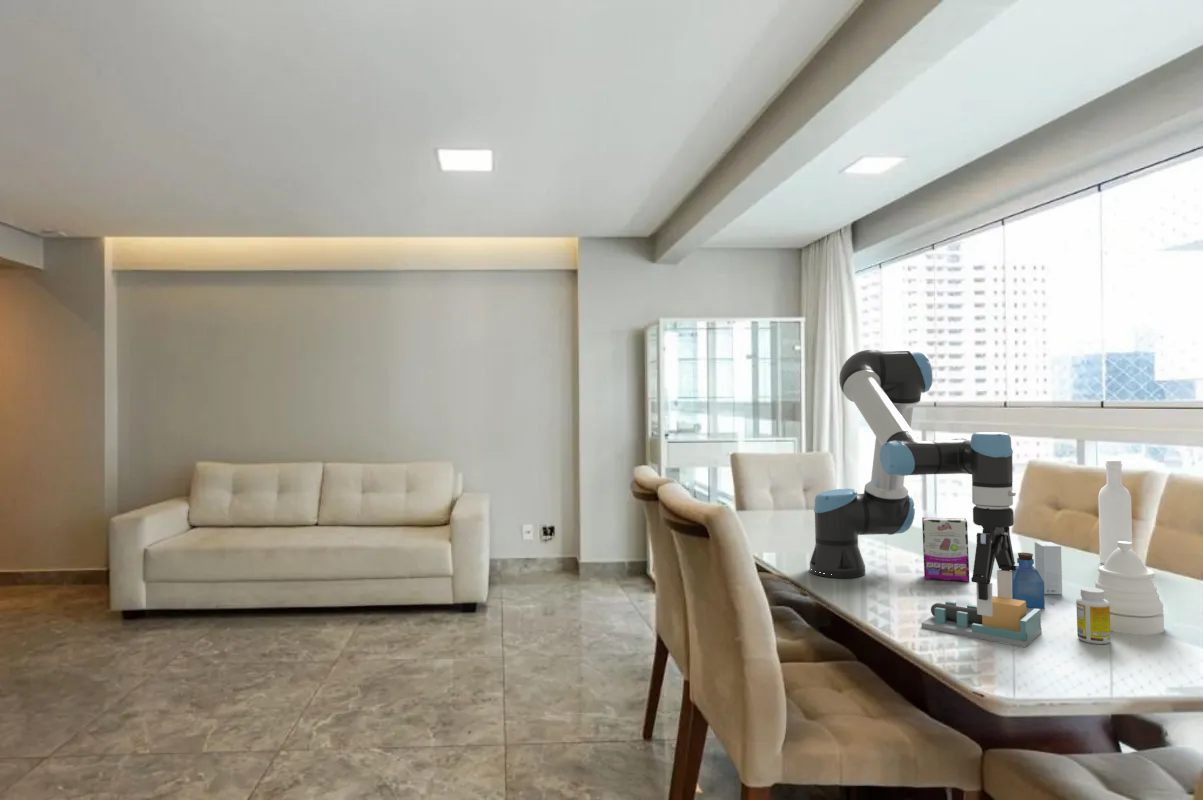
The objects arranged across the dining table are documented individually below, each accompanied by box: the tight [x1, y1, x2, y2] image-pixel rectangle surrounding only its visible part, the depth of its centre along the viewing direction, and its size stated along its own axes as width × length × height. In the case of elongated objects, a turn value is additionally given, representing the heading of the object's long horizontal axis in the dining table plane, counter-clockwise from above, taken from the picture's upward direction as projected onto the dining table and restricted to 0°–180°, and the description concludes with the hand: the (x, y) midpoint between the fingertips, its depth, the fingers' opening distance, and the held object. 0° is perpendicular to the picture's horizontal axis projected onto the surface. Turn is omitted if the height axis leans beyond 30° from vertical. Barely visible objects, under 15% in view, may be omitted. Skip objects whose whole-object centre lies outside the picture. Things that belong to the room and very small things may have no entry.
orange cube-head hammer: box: [930, 595, 1027, 631], centre depth 156 cm, size 18×5×6 cm, turn 46°
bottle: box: [1097, 459, 1134, 565], centre depth 212 cm, size 8×8×30 cm
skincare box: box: [1034, 541, 1063, 595], centre depth 184 cm, size 6×4×12 cm
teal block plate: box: [921, 600, 1042, 648], centre depth 155 cm, size 20×12×5 cm, turn 46°
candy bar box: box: [921, 516, 970, 583], centre depth 200 cm, size 11×5×16 cm, turn 68°
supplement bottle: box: [1075, 586, 1112, 645], centre depth 147 cm, size 6×6×10 cm
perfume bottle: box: [1010, 552, 1046, 610], centre depth 173 cm, size 6×6×12 cm
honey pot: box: [1093, 541, 1165, 635], centre depth 157 cm, size 13×13×18 cm
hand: (995, 607), depth 153 cm, fingers open, 13 cm apart
